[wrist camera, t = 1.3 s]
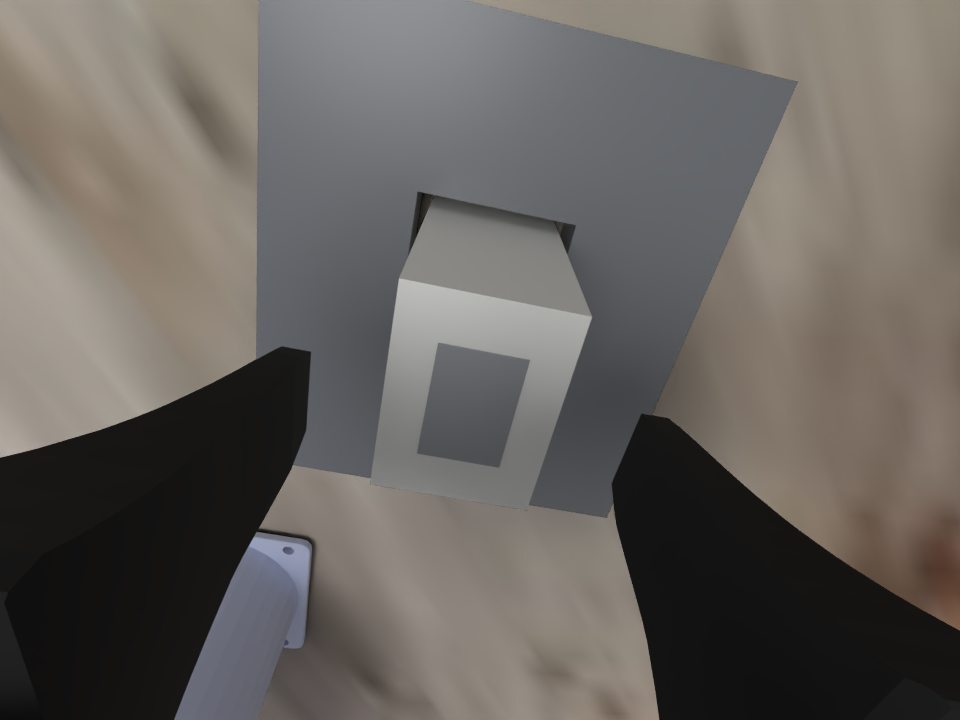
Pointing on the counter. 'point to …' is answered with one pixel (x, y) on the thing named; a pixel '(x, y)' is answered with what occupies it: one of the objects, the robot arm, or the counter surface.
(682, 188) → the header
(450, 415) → the plug
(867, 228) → the counter surface
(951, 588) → the counter surface
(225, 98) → the counter surface
